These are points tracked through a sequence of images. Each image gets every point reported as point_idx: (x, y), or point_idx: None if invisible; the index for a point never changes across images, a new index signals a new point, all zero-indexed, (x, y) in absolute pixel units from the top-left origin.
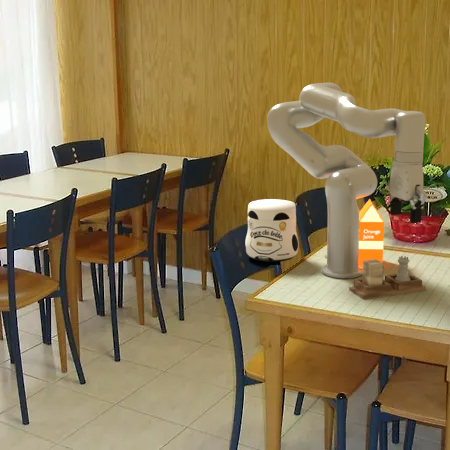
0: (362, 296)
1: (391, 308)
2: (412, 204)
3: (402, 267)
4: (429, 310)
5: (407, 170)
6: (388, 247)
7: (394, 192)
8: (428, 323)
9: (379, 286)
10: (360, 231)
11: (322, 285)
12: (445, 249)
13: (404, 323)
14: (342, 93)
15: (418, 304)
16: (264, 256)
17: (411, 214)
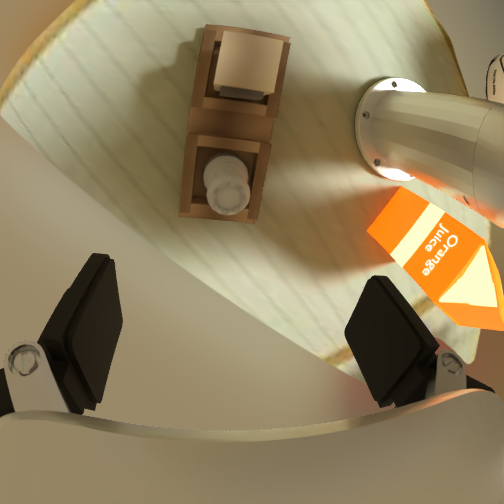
0: (211, 25)
1: (116, 56)
2: (33, 386)
3: (216, 176)
4: (68, 135)
5: None
6: (419, 311)
7: (436, 460)
8: (23, 95)
9: (198, 67)
10: (461, 228)
11: (352, 20)
12: (346, 373)
13: (43, 48)
14: None
15: (106, 132)
16: (499, 56)
17: (66, 296)
